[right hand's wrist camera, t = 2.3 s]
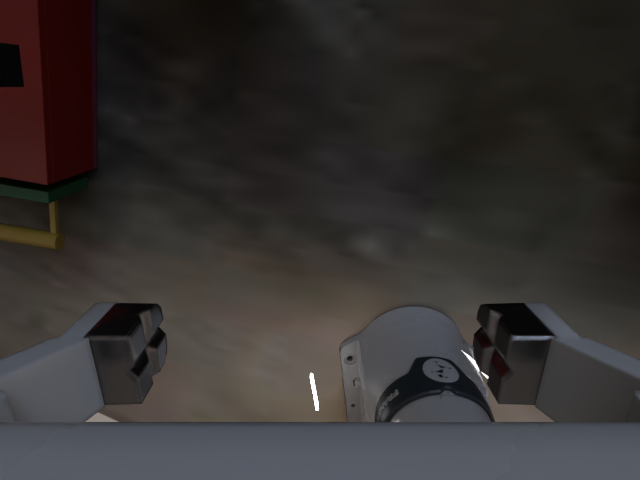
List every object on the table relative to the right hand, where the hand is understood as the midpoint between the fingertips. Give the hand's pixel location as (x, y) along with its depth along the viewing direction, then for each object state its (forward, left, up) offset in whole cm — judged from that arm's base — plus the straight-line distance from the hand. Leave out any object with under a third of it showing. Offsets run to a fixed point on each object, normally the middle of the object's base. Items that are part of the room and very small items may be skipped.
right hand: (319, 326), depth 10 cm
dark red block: (+4, +29, -36) cm, 47 cm away
